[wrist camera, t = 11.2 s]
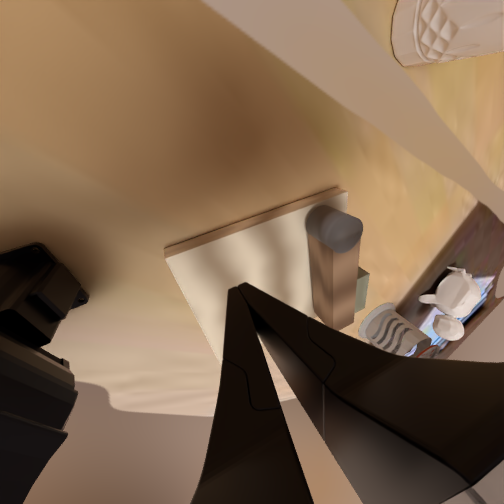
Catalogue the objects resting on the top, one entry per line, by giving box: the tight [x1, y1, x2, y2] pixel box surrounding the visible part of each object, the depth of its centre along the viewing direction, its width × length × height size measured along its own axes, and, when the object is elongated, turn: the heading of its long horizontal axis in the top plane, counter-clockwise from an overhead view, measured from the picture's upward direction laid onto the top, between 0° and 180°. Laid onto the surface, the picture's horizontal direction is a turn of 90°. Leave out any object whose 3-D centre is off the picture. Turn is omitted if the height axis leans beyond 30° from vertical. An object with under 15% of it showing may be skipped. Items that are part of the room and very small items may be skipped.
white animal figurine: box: [418, 267, 481, 341], centre depth 46 cm, size 9×8×15 cm
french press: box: [358, 303, 440, 359], centre depth 35 cm, size 10×12×25 cm
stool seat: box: [164, 188, 369, 365], centre depth 25 cm, size 20×18×6 cm
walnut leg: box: [306, 205, 363, 331], centre depth 25 cm, size 16×4×4 cm, turn 14°
